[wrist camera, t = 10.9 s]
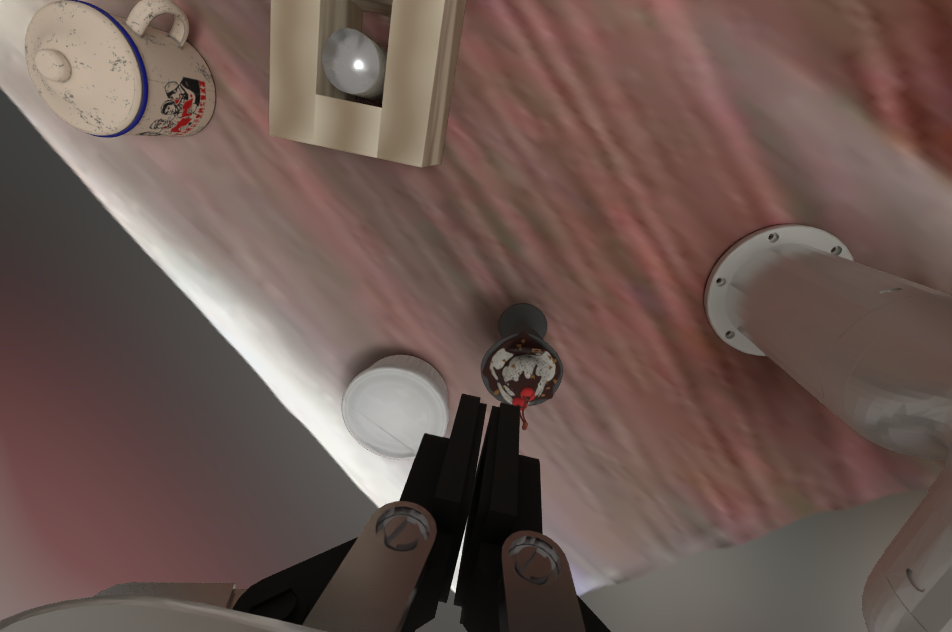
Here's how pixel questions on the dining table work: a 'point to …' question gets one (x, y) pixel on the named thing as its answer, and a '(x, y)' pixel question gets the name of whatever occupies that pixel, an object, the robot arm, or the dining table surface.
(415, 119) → the birch block
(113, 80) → the teacup with lid
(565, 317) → the dining table surface
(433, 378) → the ramekin
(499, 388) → the sundae
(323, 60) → the steel peg
